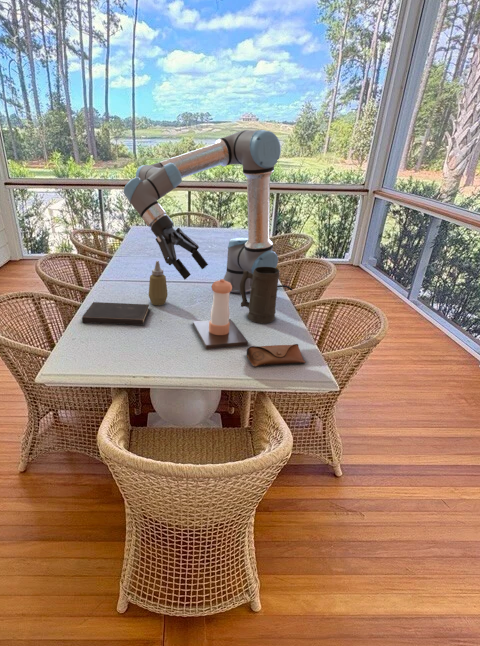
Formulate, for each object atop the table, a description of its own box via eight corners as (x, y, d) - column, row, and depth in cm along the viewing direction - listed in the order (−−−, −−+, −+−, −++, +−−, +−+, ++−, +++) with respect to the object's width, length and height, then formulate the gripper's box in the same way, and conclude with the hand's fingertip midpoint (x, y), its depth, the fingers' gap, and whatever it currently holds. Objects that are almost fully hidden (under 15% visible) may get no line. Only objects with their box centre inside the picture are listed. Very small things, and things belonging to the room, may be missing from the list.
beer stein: (278, 315, 160) (282, 266, 150) (274, 325, 151) (277, 274, 141) (241, 312, 165) (242, 264, 155) (235, 321, 156) (236, 271, 146)
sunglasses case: (254, 366, 123) (252, 345, 123) (247, 367, 130) (245, 346, 130) (308, 363, 126) (306, 342, 126) (298, 363, 133) (296, 343, 133)
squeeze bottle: (164, 307, 164) (164, 264, 155) (146, 305, 165) (144, 263, 156) (169, 300, 171) (169, 259, 162) (151, 299, 172) (150, 257, 163)
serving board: (230, 322, 153) (230, 318, 152) (247, 345, 136) (248, 341, 136) (192, 324, 150) (192, 321, 149) (205, 349, 133) (206, 345, 132)
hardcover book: (93, 307, 162) (93, 302, 161) (149, 309, 162) (149, 304, 160) (82, 323, 149) (81, 317, 147) (143, 325, 148) (142, 320, 147)
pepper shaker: (229, 327, 145) (233, 276, 135) (228, 336, 139) (233, 283, 129) (209, 326, 146) (212, 275, 136) (208, 334, 139) (211, 282, 130)
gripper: (169, 222, 146) (204, 269, 148) (131, 235, 127) (172, 288, 129) (182, 209, 141) (218, 257, 143) (145, 219, 122) (187, 275, 124)
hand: (196, 272), depth 136 cm, fingers open, 13 cm apart
